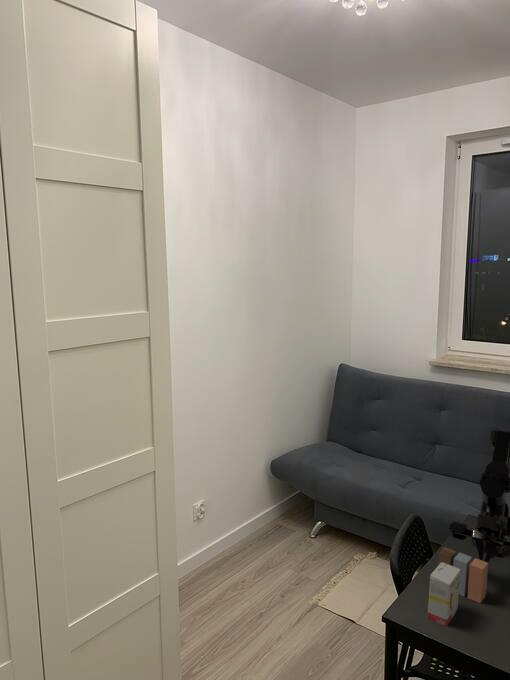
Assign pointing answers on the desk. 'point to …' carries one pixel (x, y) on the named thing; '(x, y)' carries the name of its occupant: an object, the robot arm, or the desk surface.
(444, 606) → the ink box
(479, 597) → the terracotta block
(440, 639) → the desk surface
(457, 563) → the slate block
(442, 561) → the walnut block
